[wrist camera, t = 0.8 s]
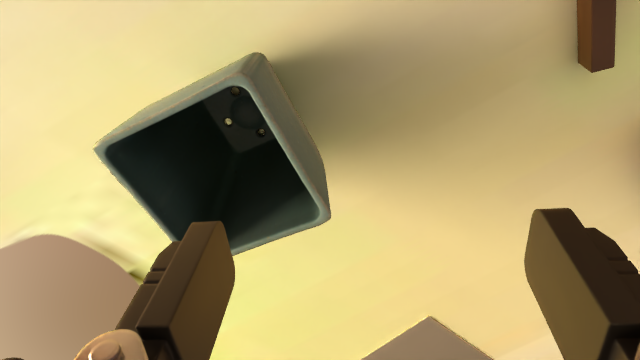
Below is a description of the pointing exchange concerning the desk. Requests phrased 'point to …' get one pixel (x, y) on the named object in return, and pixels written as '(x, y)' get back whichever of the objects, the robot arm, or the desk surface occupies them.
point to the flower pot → (222, 158)
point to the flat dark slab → (427, 345)
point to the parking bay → (596, 34)
